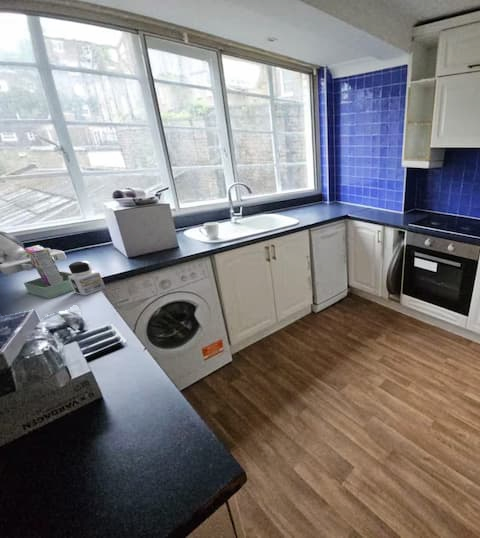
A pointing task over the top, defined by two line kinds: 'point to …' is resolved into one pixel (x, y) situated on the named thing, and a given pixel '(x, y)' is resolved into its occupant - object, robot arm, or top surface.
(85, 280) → the container
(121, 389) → the top surface
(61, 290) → the tray
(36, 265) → the candy bar box
